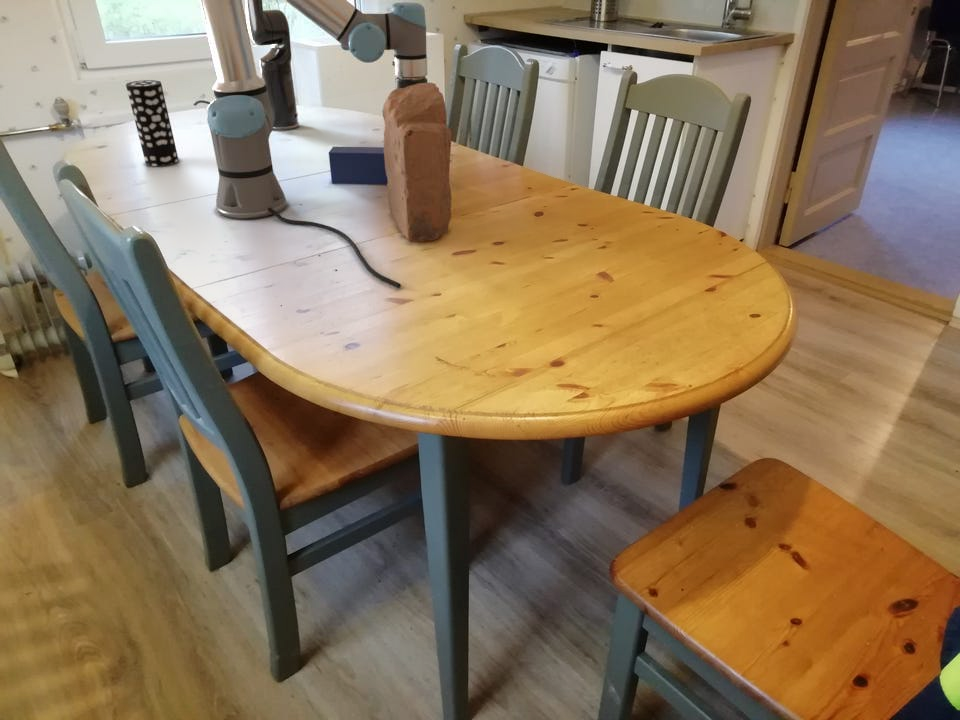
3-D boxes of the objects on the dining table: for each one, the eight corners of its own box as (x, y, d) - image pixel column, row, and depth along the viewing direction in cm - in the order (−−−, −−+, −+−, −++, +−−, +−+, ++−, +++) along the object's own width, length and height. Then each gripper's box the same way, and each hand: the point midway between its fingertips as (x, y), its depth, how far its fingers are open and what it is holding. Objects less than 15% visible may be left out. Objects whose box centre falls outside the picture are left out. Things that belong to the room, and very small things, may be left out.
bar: (433, 178, 177) (432, 148, 173) (431, 185, 173) (430, 154, 169) (336, 176, 178) (332, 146, 173) (331, 183, 173) (328, 152, 169)
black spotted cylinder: (184, 157, 190) (167, 80, 179) (169, 166, 183) (151, 87, 172) (155, 156, 190) (136, 79, 179) (139, 165, 183) (119, 86, 172)
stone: (462, 239, 143) (459, 96, 128) (408, 246, 140) (400, 100, 125) (434, 208, 160) (429, 79, 146) (387, 213, 157) (377, 82, 143)
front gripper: (400, 68, 171) (405, 159, 183) (389, 85, 153) (395, 185, 165) (430, 68, 170) (433, 160, 183) (423, 86, 153) (426, 186, 165)
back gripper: (325, -46, 184) (331, 21, 192) (298, -44, 172) (307, 27, 181) (350, -46, 182) (356, 22, 191) (326, -43, 170) (333, 29, 179)
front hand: (415, 172), depth 174 cm, fingers open, 8 cm apart
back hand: (332, 25), depth 186 cm, fingers open, 8 cm apart
